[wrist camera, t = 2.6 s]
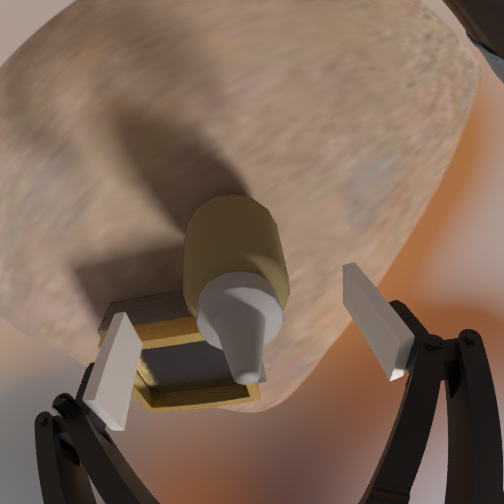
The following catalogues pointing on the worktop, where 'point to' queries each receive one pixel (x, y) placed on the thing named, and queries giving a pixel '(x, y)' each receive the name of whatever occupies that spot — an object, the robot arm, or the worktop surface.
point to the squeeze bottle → (235, 280)
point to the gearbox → (177, 358)
